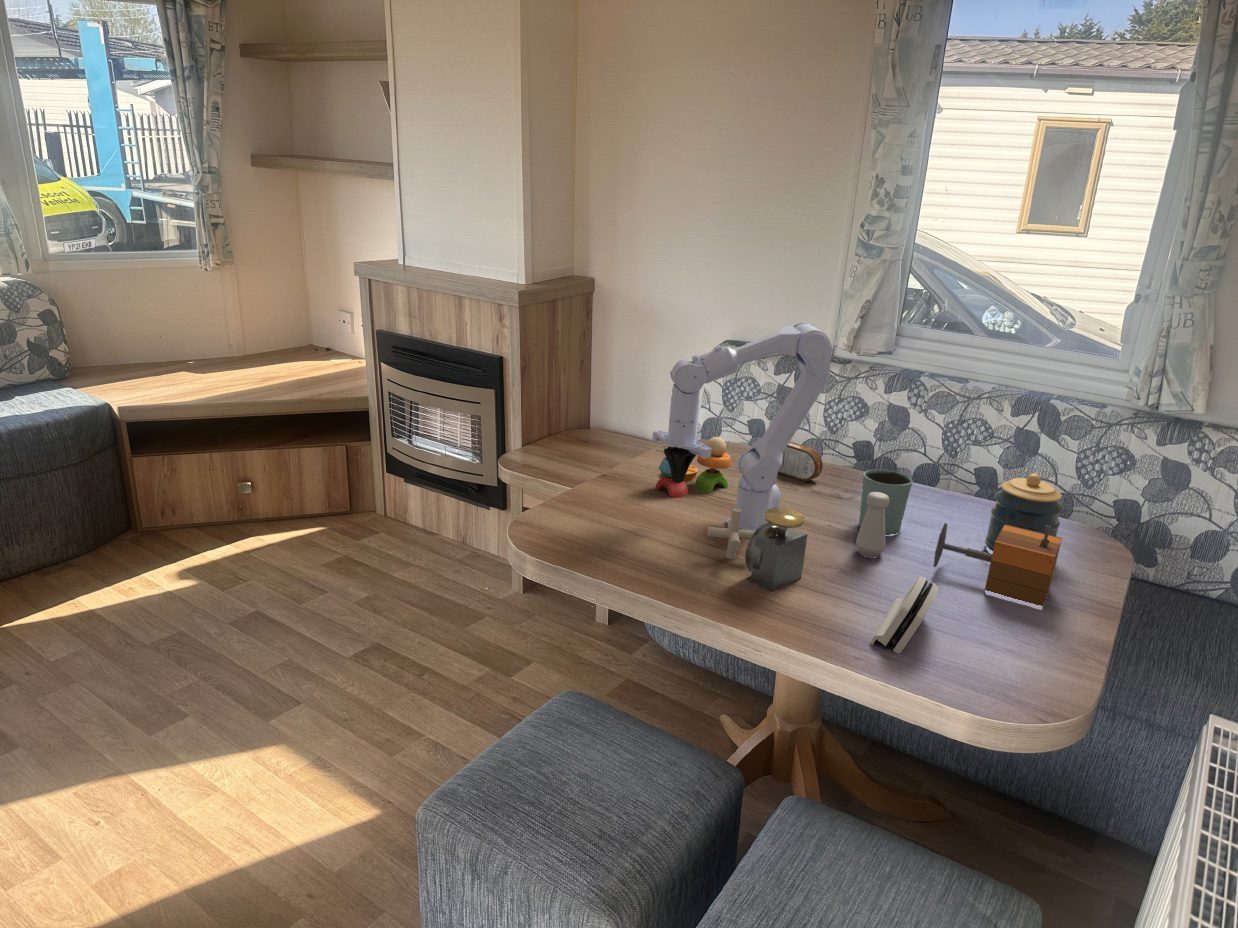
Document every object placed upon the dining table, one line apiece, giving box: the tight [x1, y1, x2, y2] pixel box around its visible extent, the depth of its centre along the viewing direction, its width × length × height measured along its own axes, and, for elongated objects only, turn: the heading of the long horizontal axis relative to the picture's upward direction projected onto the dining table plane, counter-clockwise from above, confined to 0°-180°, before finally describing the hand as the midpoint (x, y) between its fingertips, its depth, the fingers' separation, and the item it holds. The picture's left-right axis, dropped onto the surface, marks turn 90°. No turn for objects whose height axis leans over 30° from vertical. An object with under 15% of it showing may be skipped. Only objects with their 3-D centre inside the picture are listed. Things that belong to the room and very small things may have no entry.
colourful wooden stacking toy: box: [655, 436, 732, 499], centre depth 208 cm, size 18×17×12 cm
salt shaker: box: [855, 492, 889, 559], centre depth 176 cm, size 6×6×13 cm
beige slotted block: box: [869, 575, 940, 654], centre depth 147 cm, size 17×5×10 cm, turn 151°
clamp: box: [933, 522, 1063, 606], centre depth 165 cm, size 11×20×14 cm, turn 58°
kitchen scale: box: [744, 507, 808, 592], centre depth 162 cm, size 10×8×13 cm
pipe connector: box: [707, 507, 755, 560], centre depth 170 cm, size 10×10×10 cm
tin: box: [777, 440, 824, 482], centre depth 219 cm, size 15×3×8 cm, turn 46°
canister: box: [984, 473, 1064, 551], centre depth 179 cm, size 13×13×18 cm
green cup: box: [858, 469, 913, 535], centre depth 189 cm, size 10×10×12 cm
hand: (677, 481), depth 184 cm, fingers closed
